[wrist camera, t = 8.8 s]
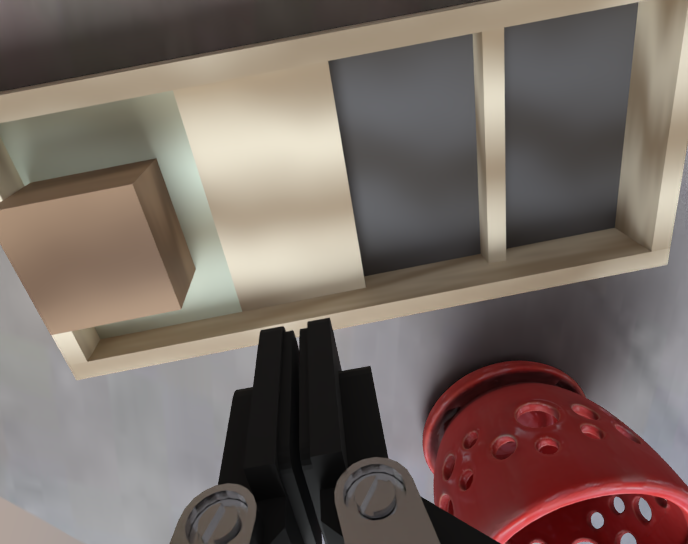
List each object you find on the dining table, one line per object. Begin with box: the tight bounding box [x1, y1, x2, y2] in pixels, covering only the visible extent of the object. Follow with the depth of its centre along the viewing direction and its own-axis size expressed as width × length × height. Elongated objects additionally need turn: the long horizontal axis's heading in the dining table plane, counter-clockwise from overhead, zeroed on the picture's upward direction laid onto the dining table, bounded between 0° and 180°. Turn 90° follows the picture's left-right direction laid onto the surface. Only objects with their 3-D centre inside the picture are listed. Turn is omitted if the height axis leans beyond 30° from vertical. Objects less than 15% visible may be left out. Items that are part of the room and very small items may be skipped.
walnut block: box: [0, 158, 196, 335], centre depth 23 cm, size 6×6×4 cm
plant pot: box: [423, 361, 688, 544], centre depth 30 cm, size 13×13×12 cm
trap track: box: [0, 0, 688, 380], centre depth 24 cm, size 14×32×4 cm, turn 100°
